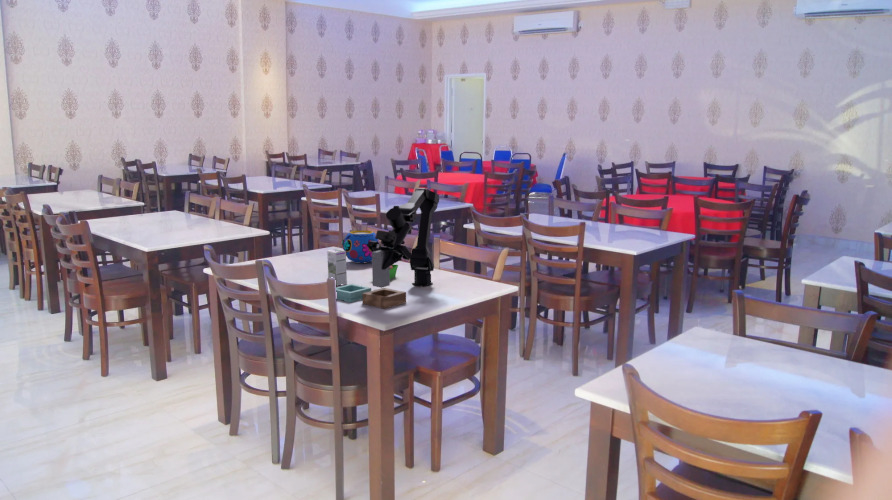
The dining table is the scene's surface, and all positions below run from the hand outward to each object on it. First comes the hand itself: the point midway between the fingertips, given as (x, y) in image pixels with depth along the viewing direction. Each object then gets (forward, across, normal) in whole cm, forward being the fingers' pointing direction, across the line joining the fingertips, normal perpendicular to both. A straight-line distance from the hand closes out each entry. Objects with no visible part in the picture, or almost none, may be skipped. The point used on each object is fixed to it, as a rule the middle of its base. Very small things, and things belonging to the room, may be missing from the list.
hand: (378, 268), depth 255 cm
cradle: (+9, -15, +10) cm, 20 cm away
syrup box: (+2, -35, +18) cm, 40 cm away
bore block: (+8, +2, +10) cm, 14 cm away
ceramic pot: (-26, -61, +46) cm, 81 cm away
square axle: (+4, 0, +6) cm, 7 cm away
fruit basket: (-13, -28, +33) cm, 45 cm away
